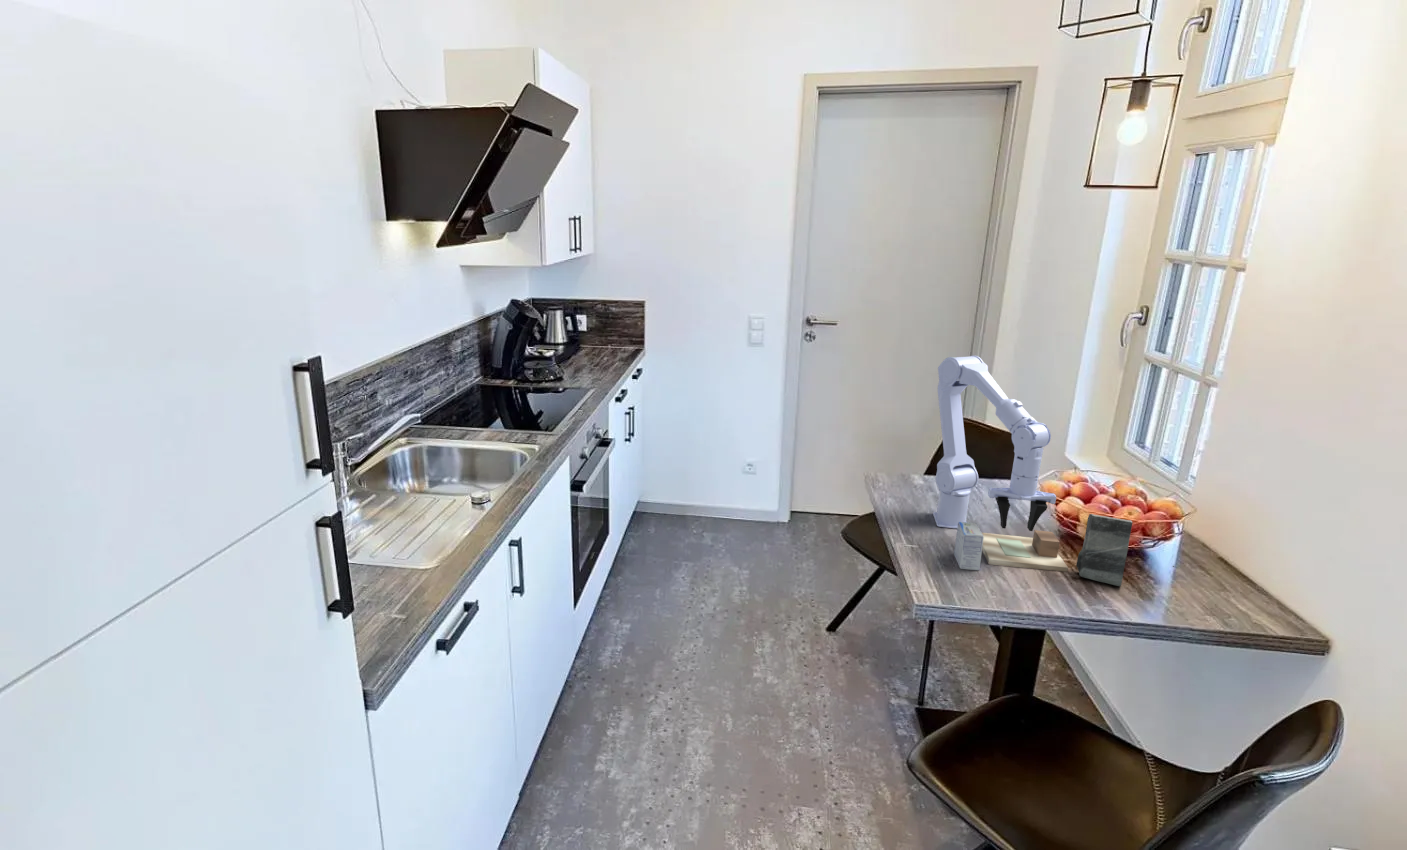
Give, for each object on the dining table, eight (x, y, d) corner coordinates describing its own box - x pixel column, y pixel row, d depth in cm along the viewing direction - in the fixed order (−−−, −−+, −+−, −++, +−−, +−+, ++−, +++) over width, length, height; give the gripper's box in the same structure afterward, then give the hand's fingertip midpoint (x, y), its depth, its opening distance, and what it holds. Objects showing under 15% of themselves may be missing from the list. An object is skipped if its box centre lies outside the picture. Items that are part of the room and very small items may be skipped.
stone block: (1075, 573, 157) (1074, 576, 153) (1086, 511, 157) (1086, 512, 153) (1120, 584, 153) (1120, 587, 148) (1132, 520, 153) (1133, 521, 148)
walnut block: (1031, 545, 168) (1034, 530, 167) (1049, 547, 167) (1052, 531, 166) (1038, 555, 162) (1041, 540, 161) (1056, 557, 161) (1059, 542, 160)
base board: (975, 537, 175) (976, 531, 175) (1046, 544, 172) (1047, 538, 172) (988, 565, 160) (989, 558, 159) (1067, 573, 157) (1068, 566, 156)
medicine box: (979, 571, 157) (984, 536, 154) (958, 569, 157) (963, 534, 155) (972, 556, 164) (977, 522, 162) (953, 554, 165) (957, 520, 163)
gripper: (996, 476, 158) (987, 531, 162) (1063, 482, 156) (1053, 538, 159) (989, 467, 165) (981, 520, 169) (1054, 472, 163) (1045, 526, 166)
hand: (1016, 528), depth 165 cm, fingers open, 5 cm apart
